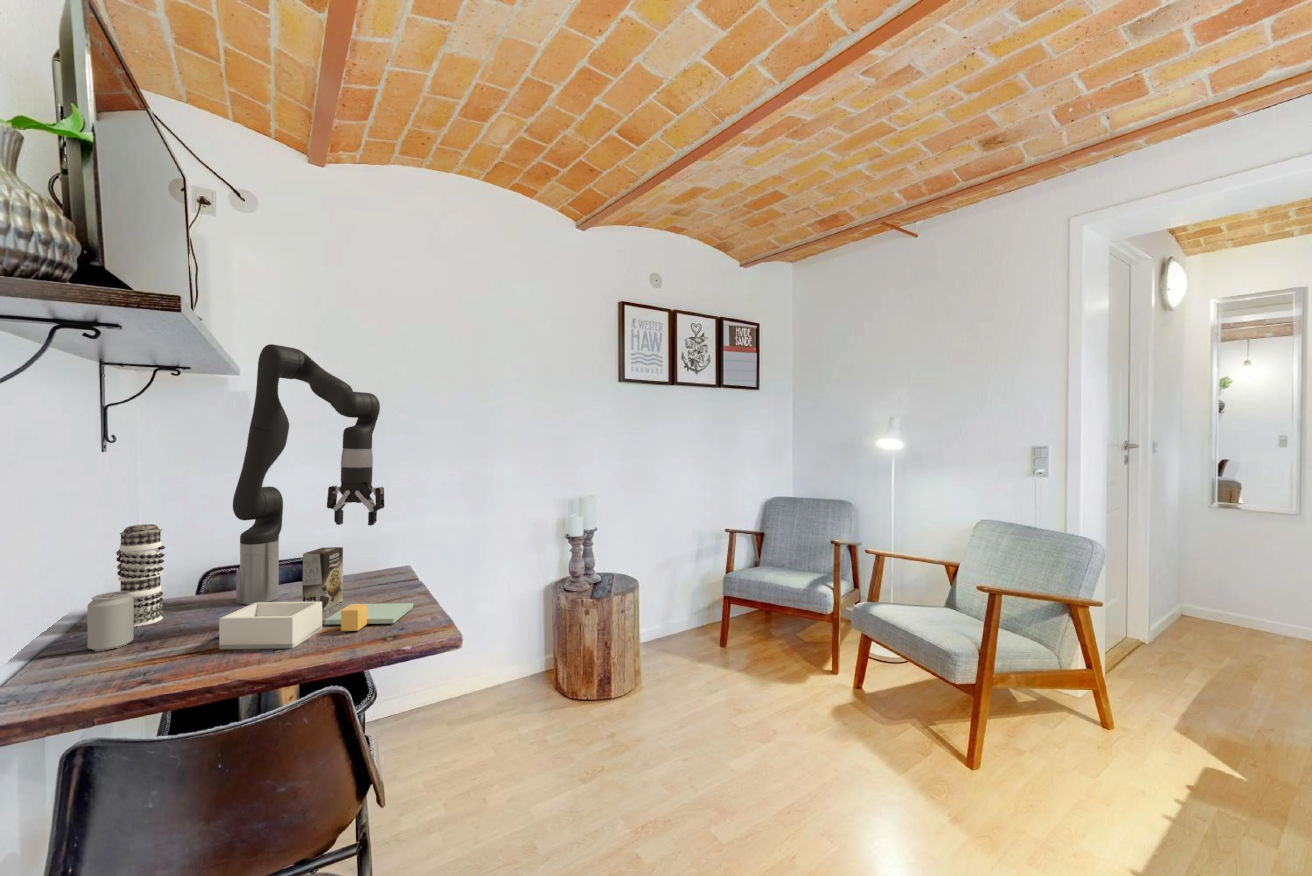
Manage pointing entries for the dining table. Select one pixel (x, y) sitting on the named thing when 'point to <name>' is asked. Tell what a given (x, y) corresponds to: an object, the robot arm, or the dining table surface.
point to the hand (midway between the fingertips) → (355, 524)
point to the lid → (368, 615)
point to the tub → (270, 625)
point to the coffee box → (323, 576)
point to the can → (110, 620)
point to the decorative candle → (142, 571)
